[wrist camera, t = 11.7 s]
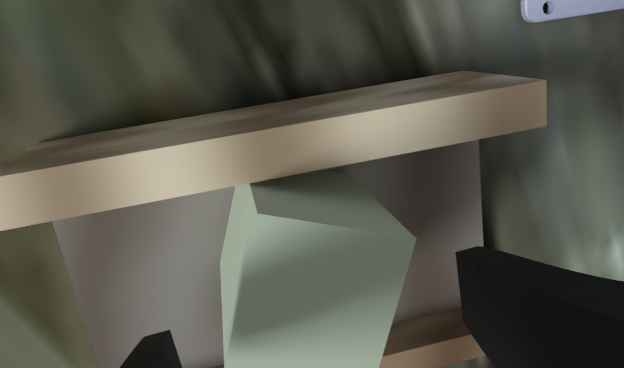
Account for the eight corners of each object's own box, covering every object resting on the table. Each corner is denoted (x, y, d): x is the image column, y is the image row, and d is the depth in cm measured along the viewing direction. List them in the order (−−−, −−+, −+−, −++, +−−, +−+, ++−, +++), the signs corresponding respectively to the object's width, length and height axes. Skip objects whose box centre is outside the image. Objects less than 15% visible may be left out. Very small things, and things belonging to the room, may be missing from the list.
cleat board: (463, 70, 21) (546, 79, 16) (476, 313, 25) (547, 386, 19) (38, 142, 19) (-29, 181, 13) (118, 400, 22) (89, 510, 17)
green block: (349, 174, 20) (416, 238, 14) (319, 292, 21) (367, 404, 15) (241, 154, 19) (257, 213, 13) (216, 280, 20) (218, 394, 14)
